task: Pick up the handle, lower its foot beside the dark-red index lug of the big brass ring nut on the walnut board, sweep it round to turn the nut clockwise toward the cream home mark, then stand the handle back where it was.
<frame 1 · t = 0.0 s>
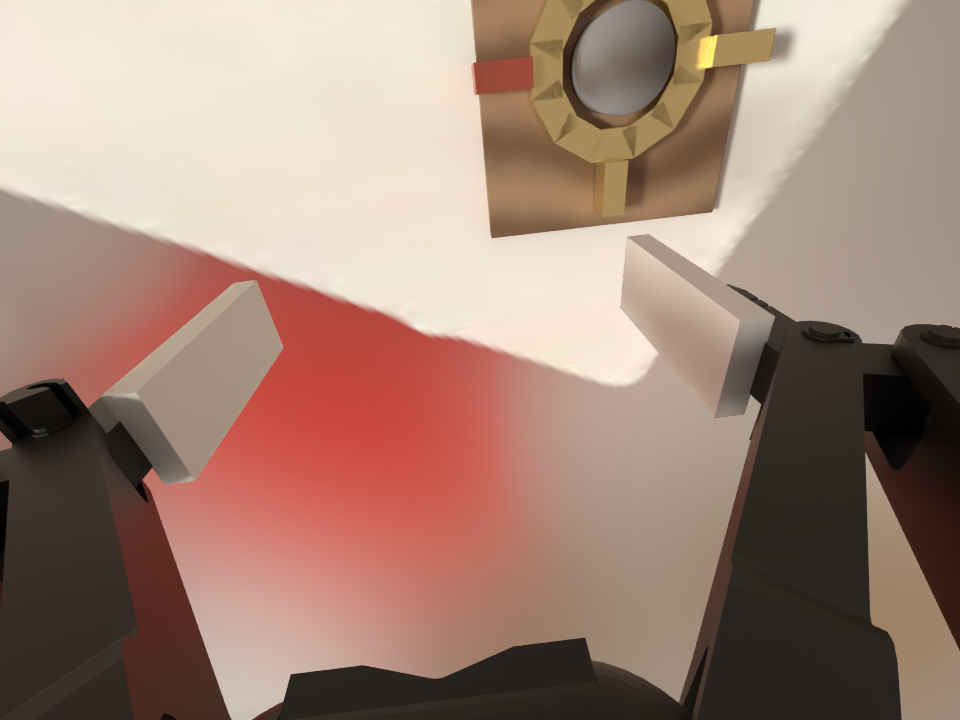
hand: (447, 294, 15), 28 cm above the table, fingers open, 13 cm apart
ring nut: (618, 63, 33), point 3 cm above the table, hinge at 0.0°
board: (606, 65, 35), on the table
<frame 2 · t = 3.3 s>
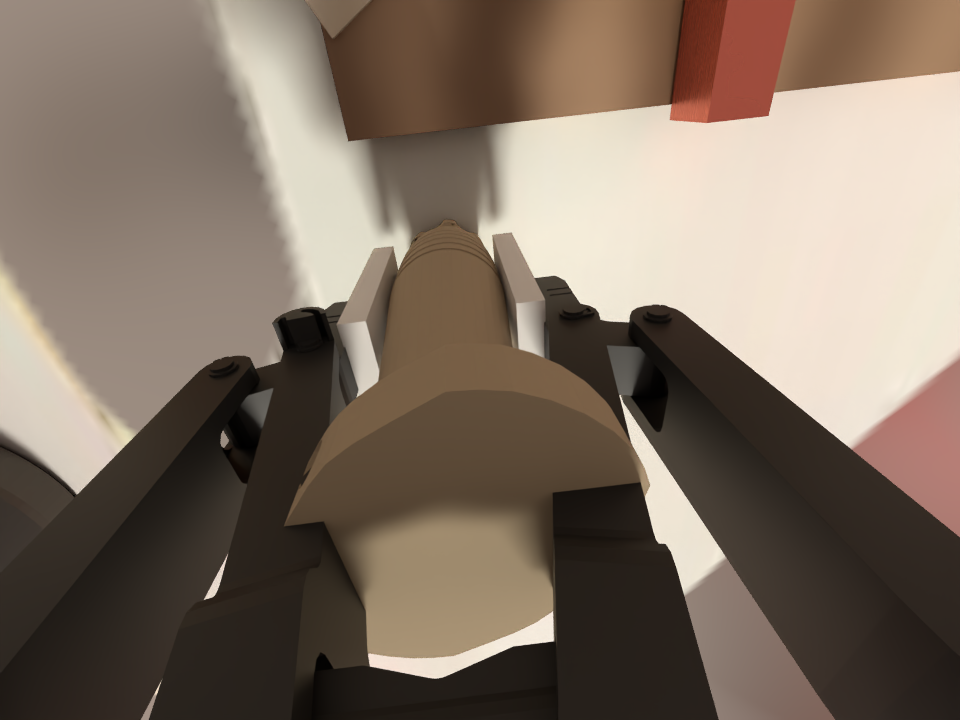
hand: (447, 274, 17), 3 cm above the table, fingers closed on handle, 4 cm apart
handle: (447, 252, 19), on the table, touching gripper
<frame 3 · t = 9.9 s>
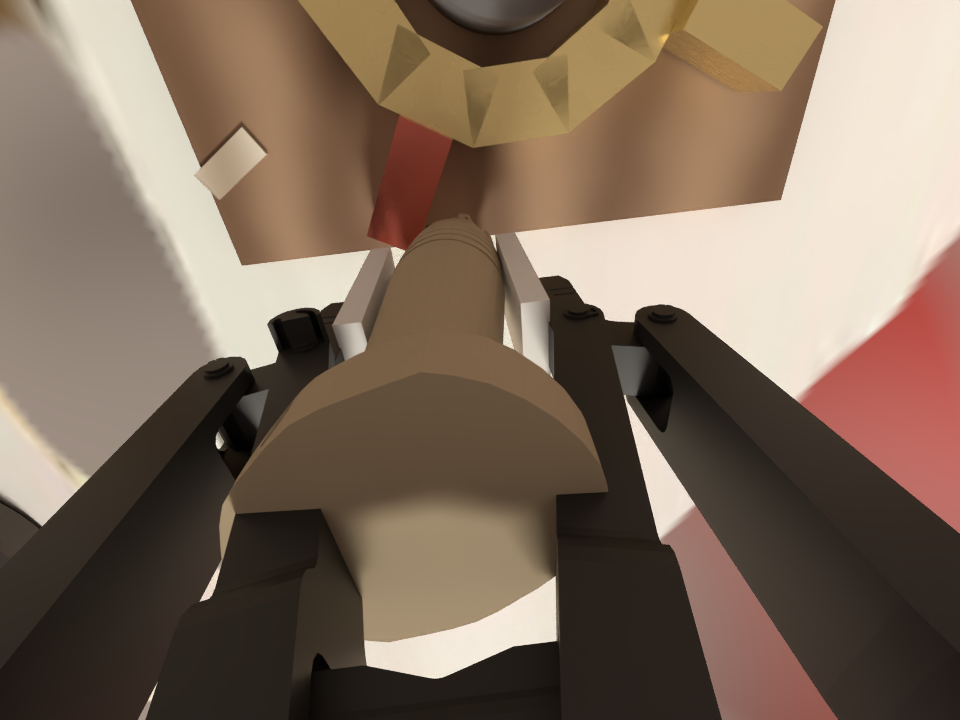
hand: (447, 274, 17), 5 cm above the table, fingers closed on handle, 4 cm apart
handle: (456, 245, 19), point 2 cm above the table, touching gripper, ring nut
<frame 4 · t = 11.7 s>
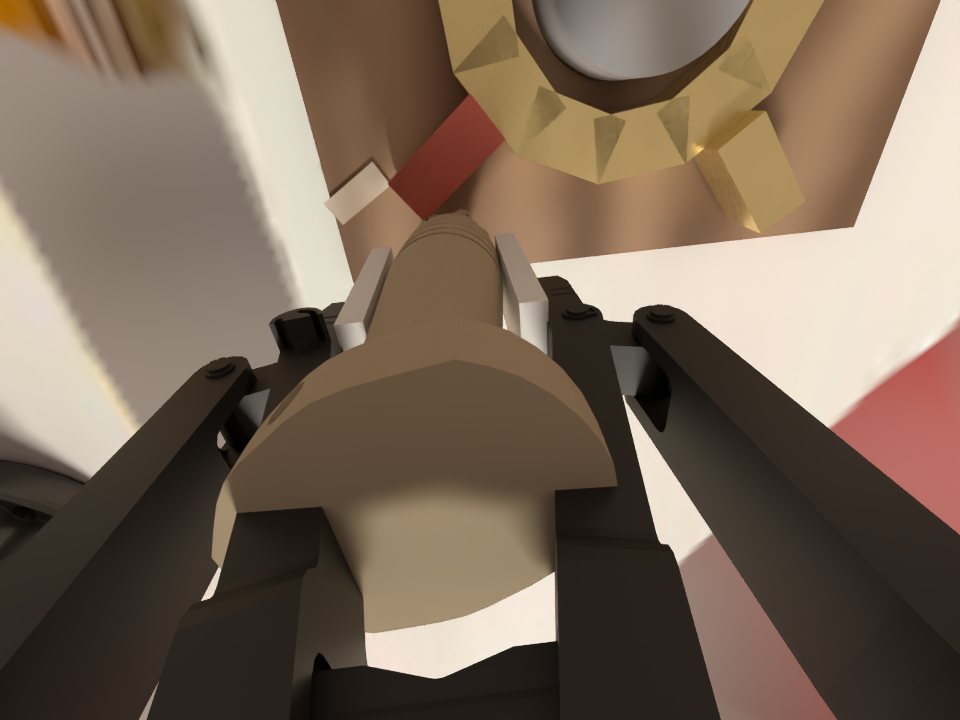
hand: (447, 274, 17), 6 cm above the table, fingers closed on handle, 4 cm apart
handle: (453, 241, 19), point 3 cm above the table, touching gripper
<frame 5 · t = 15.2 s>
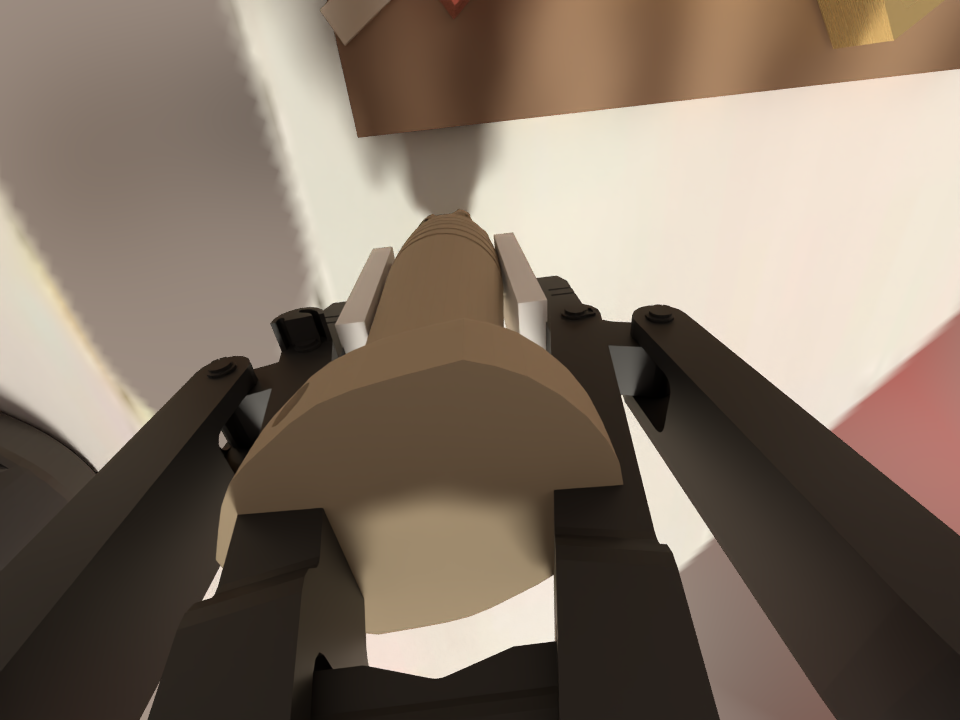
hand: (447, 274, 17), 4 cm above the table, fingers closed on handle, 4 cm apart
handle: (452, 241, 19), point 1 cm above the table, touching gripper
when the fingers open (4 cm above the table, at t = 15.3 s): handle drops 2 cm, on the table.
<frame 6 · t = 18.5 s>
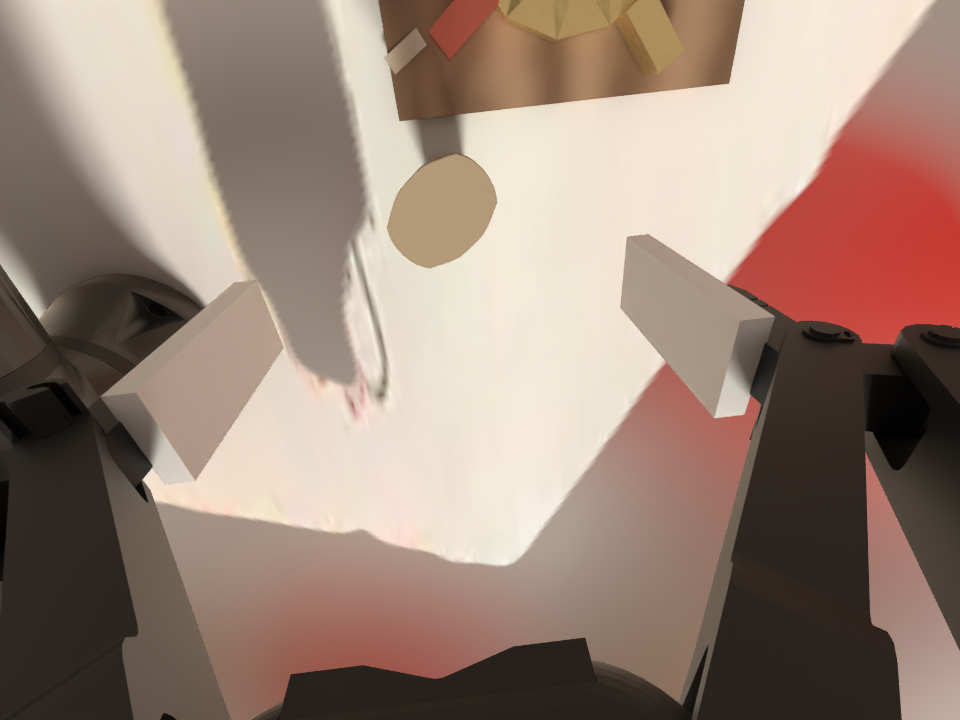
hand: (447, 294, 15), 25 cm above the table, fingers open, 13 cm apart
handle: (446, 177, 36), on the table
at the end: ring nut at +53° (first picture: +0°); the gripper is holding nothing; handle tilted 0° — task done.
